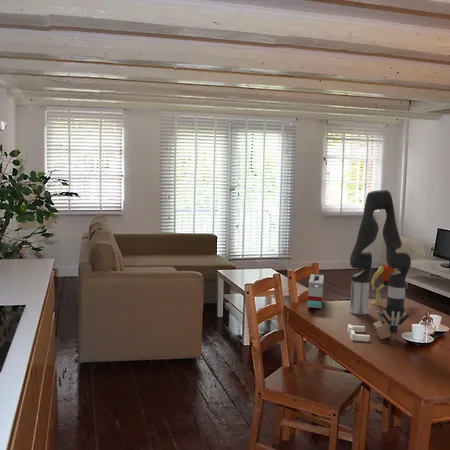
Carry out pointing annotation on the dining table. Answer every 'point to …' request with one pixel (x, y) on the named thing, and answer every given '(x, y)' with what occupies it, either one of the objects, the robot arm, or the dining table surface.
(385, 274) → the toy
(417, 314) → the dining table surface
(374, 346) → the dining table surface
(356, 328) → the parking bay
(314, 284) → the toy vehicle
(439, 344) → the dining table surface
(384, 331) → the tan block
